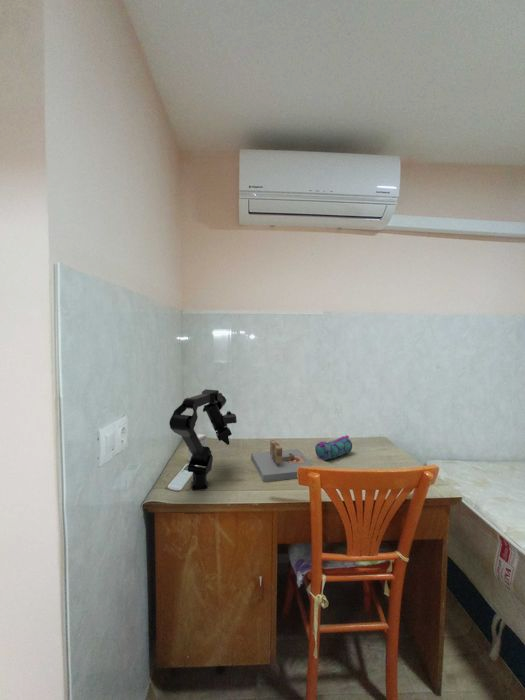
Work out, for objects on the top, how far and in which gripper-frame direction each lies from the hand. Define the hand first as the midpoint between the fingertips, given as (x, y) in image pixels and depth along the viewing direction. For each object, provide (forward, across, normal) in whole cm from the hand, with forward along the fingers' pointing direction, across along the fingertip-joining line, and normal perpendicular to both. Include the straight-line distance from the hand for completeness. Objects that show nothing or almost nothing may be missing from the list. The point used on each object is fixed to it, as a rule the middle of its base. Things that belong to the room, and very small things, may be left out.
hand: (228, 444), depth 129 cm
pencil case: (+37, +2, -48) cm, 60 cm away
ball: (+24, -3, -24) cm, 34 cm away
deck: (+23, -3, -19) cm, 29 cm away
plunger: (+20, -3, -20) cm, 28 cm away
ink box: (+6, +16, +17) cm, 24 cm away
